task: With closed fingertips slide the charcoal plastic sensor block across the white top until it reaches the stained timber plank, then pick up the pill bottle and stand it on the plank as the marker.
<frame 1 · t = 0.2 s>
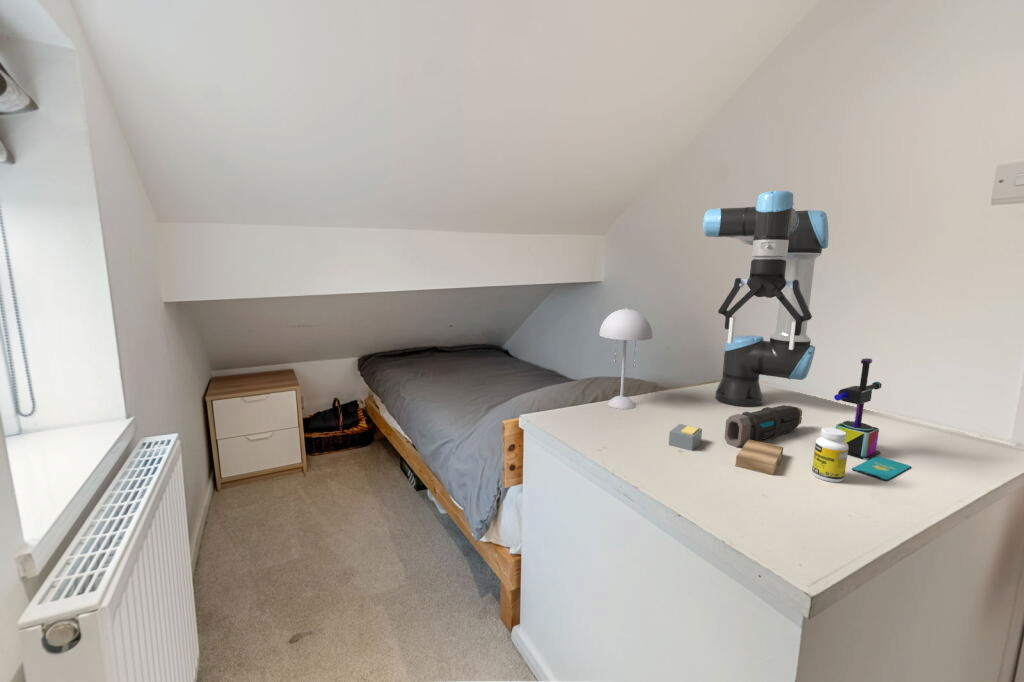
hand: (759, 345, 118), 28 cm above the table, fingers open, 13 cm apart
lamp: (621, 405, 161), on the table
robot arm 2: (861, 447, 127), on the table
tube: (764, 437, 134), on the table
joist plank: (759, 460, 117), on the table
pill bottle: (827, 477, 109), on the table
smartphone: (881, 470, 114), on the table
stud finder: (684, 444, 127), on the table
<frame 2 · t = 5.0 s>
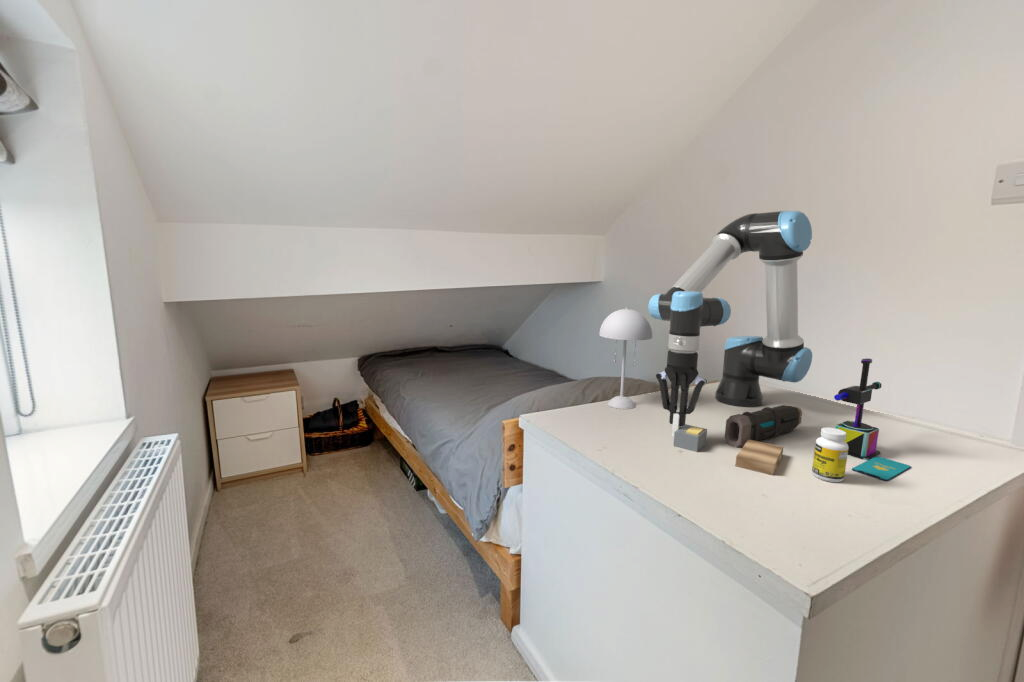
hand: (676, 436, 129), 1 cm above the table, fingers closed
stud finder: (689, 444, 127), on the table, touching gripper
everything else where it was.
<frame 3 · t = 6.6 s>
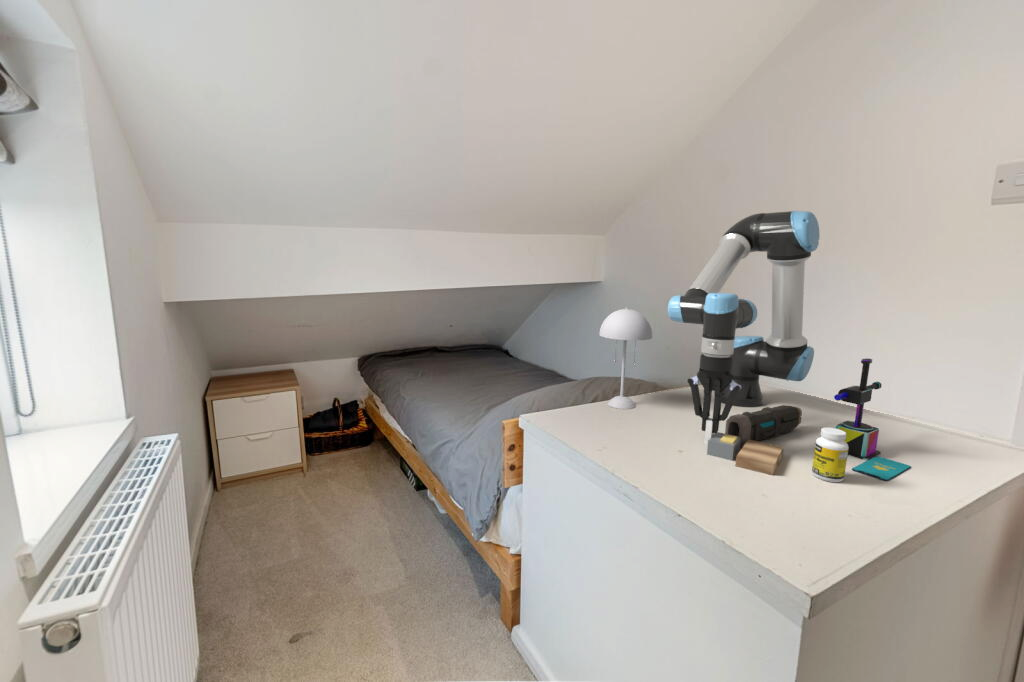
hand: (708, 443, 124), 1 cm above the table, fingers closed
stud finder: (723, 453, 122), on the table, touching gripper
everything else where it was.
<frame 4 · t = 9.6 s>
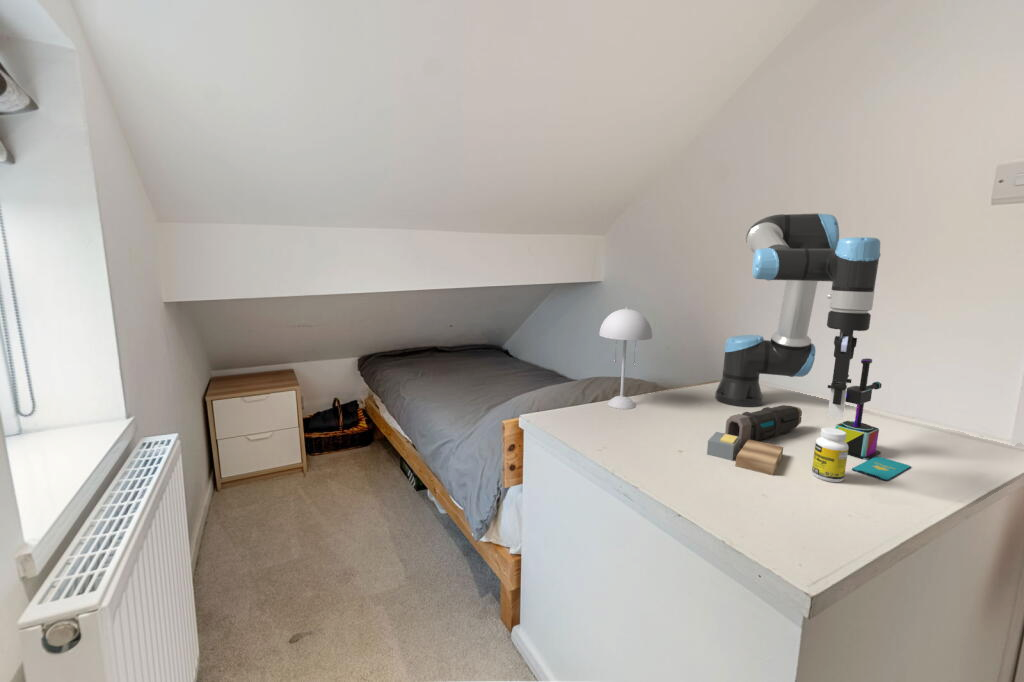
hand: (835, 414, 106), 15 cm above the table, fingers open, 6 cm apart
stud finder: (723, 453, 122), on the table
everything else where it was.
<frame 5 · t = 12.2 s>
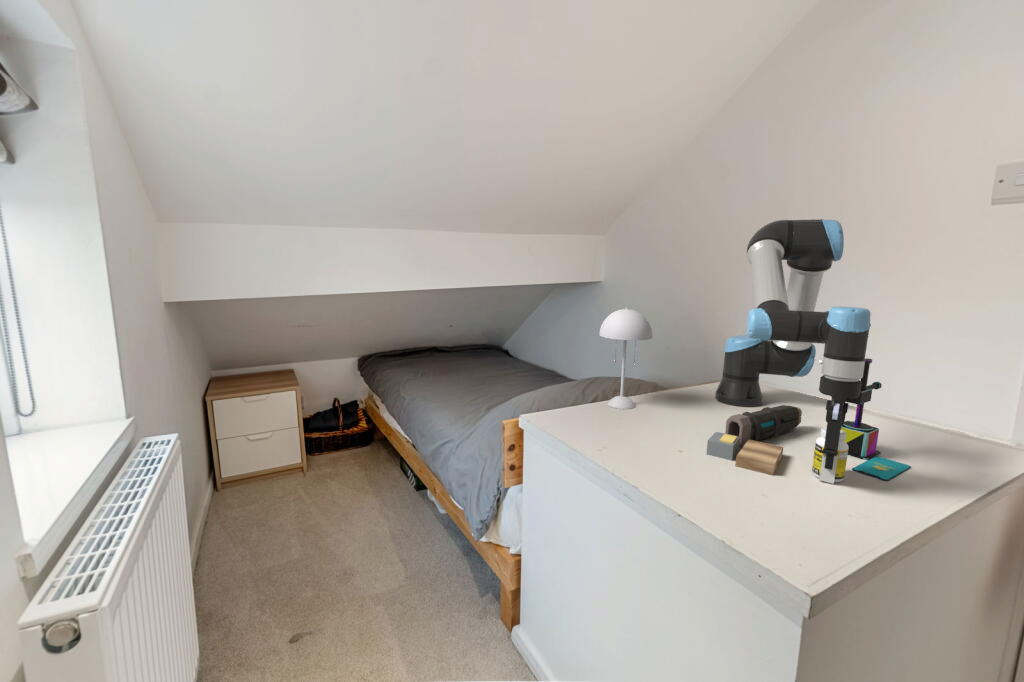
hand: (827, 476, 108), 0 cm above the table, fingers closed on pill bottle, 6 cm apart
pill bottle: (827, 477, 109), on the table, touching gripper
everything else where it was.
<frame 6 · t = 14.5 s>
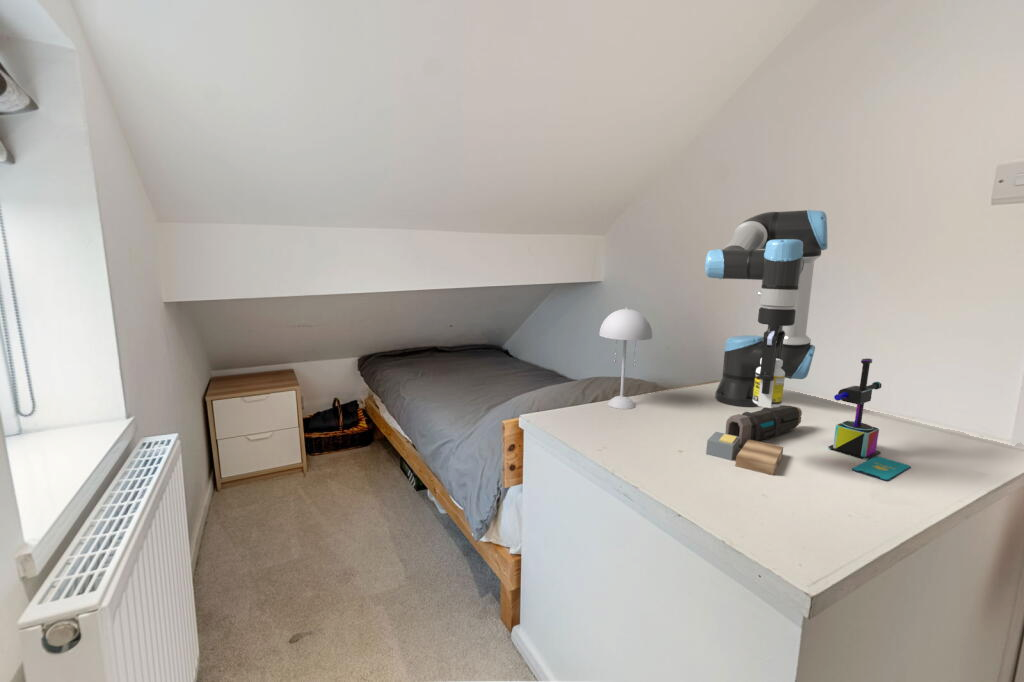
hand: (766, 403, 114), 15 cm above the table, fingers closed on pill bottle, 6 cm apart
pill bottle: (766, 405, 114), point 14 cm above the table, touching gripper
everything else where it was.
when the fingers open (4 cm above the table, at t = 16.8 s): pill bottle drops 1 cm, resting on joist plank.
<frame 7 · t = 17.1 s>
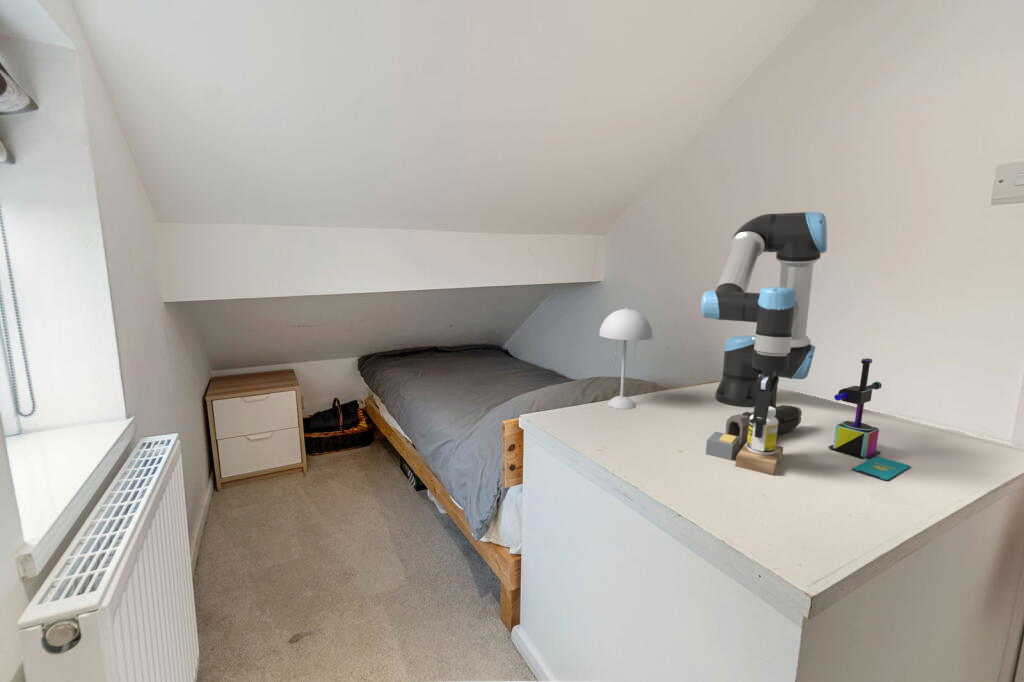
hand: (761, 443, 116), 4 cm above the table, fingers open, 9 cm apart
pill bottle: (760, 451, 116), point 2 cm above the table, touching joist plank
everything else where it was.
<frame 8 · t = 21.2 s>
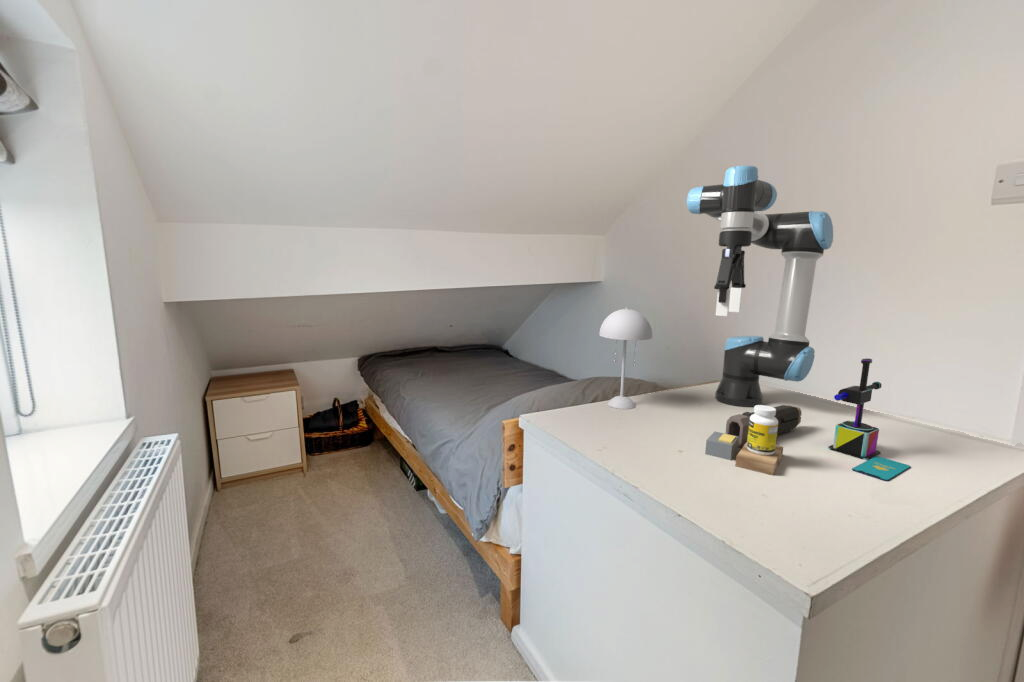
hand: (728, 313, 125), 35 cm above the table, fingers open, 13 cm apart
nothing on the table moved.
at the end: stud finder inside the target area (1.5 cm from its centre), on the table; pill bottle inside the target area (0.1 cm from its centre), point 2.3 cm above the table; pill bottle tilted 0° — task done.
